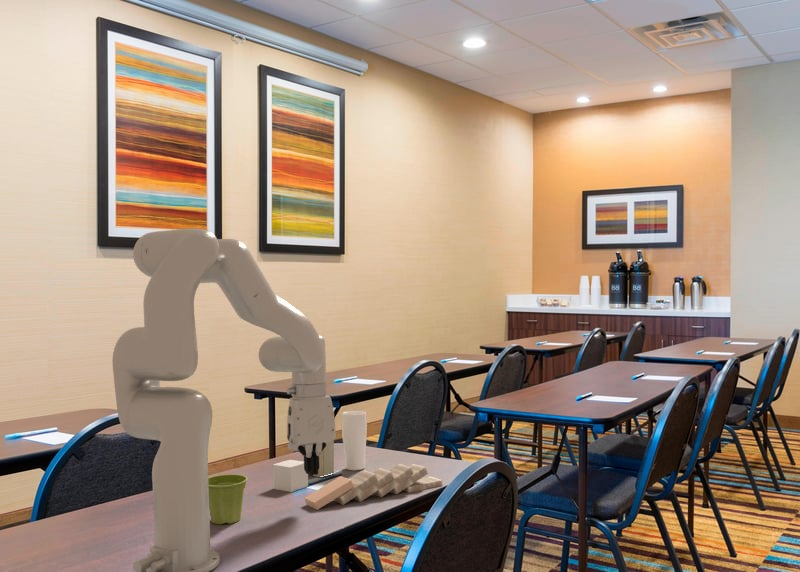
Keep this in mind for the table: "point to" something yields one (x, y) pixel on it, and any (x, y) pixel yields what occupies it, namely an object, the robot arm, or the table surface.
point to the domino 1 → (328, 492)
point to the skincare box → (326, 461)
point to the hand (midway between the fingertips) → (311, 473)
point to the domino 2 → (358, 486)
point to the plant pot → (226, 497)
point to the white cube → (289, 476)
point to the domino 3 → (376, 484)
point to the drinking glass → (354, 438)
